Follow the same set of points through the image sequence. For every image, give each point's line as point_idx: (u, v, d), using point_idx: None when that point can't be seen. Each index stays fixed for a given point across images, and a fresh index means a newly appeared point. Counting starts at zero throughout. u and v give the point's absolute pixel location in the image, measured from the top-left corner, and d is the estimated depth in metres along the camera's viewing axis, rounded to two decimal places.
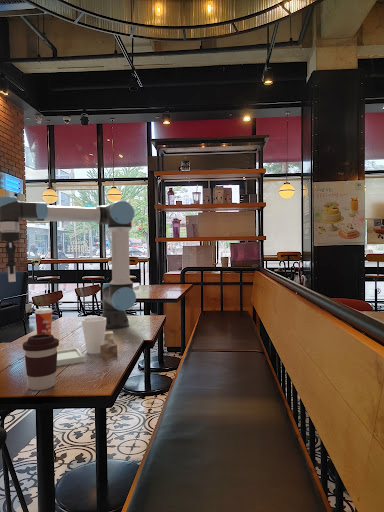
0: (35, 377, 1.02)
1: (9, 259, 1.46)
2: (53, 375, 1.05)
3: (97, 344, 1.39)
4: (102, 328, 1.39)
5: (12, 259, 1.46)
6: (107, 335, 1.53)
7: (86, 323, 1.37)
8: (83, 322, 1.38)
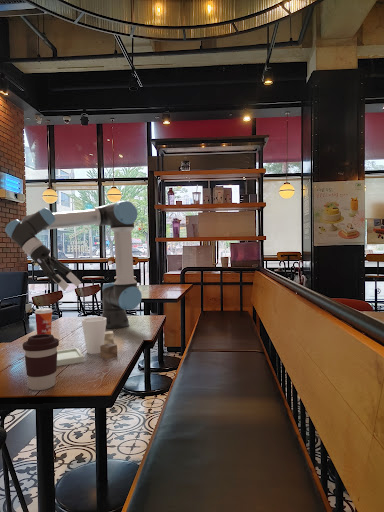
0: (35, 377, 1.02)
1: (45, 272, 1.39)
2: (53, 375, 1.05)
3: (97, 344, 1.39)
4: (102, 328, 1.39)
5: (47, 270, 1.39)
6: (107, 335, 1.53)
7: (86, 323, 1.37)
8: (83, 322, 1.38)
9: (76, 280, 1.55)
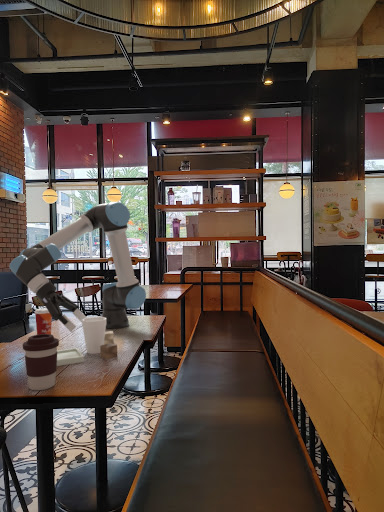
0: (35, 377, 1.02)
1: (52, 313, 1.32)
2: (53, 375, 1.05)
3: (97, 344, 1.39)
4: (102, 328, 1.39)
5: (54, 312, 1.32)
6: (107, 335, 1.53)
7: (86, 323, 1.37)
8: (83, 322, 1.38)
9: (83, 317, 1.47)
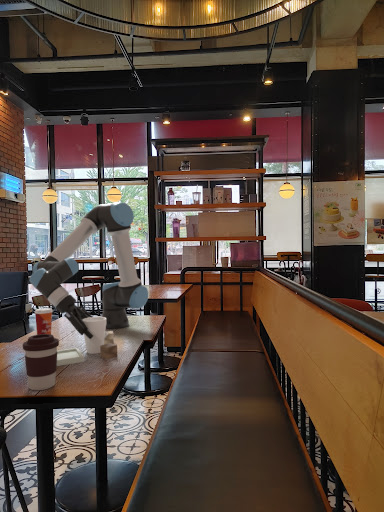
0: (35, 377, 1.02)
1: (77, 328, 1.34)
2: (53, 375, 1.05)
3: (97, 344, 1.39)
4: (102, 328, 1.39)
5: (79, 326, 1.34)
6: (107, 335, 1.53)
7: (86, 323, 1.37)
8: None
9: None
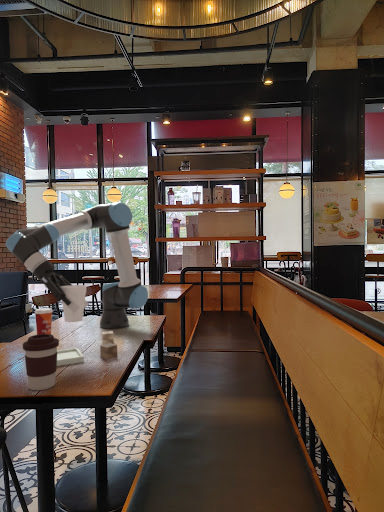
0: (35, 377, 1.02)
1: (54, 294, 1.27)
2: (53, 375, 1.05)
3: (76, 312, 1.32)
4: (81, 295, 1.32)
5: (56, 292, 1.27)
6: (107, 335, 1.53)
7: (64, 289, 1.30)
8: None
9: None
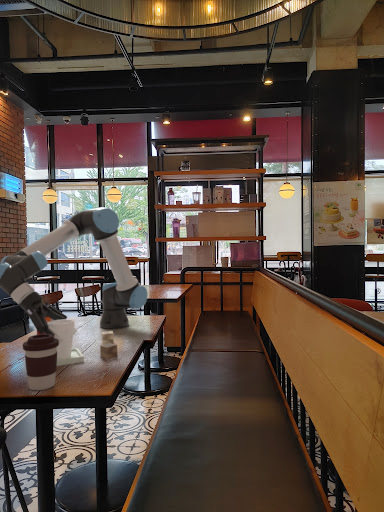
0: (35, 377, 1.02)
1: (36, 326, 1.22)
2: (53, 375, 1.05)
3: (63, 348, 1.28)
4: (69, 331, 1.29)
5: (39, 324, 1.22)
6: (107, 335, 1.53)
7: (51, 326, 1.27)
8: (48, 325, 1.28)
9: None
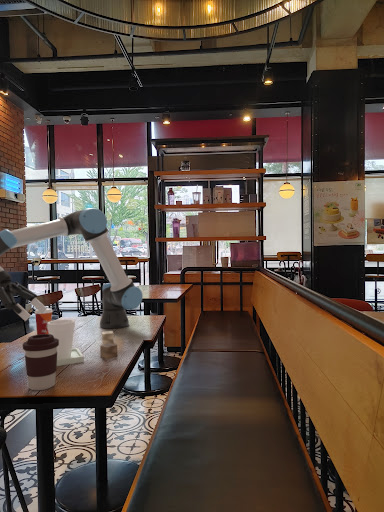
0: (35, 377, 1.02)
1: (4, 303, 1.27)
2: (53, 375, 1.05)
3: (63, 349, 1.28)
4: (69, 332, 1.29)
5: (6, 300, 1.27)
6: (107, 335, 1.53)
7: (51, 326, 1.27)
8: (48, 325, 1.28)
9: (41, 306, 1.43)
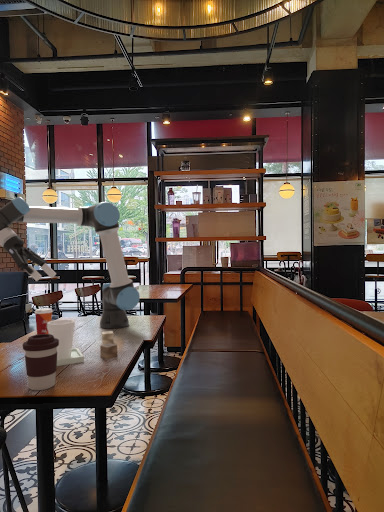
0: (35, 377, 1.02)
1: (17, 263, 1.36)
2: (53, 375, 1.05)
3: (63, 349, 1.28)
4: (69, 332, 1.29)
5: (19, 261, 1.36)
6: (107, 335, 1.53)
7: (51, 326, 1.27)
8: (48, 325, 1.28)
9: (51, 271, 1.52)
